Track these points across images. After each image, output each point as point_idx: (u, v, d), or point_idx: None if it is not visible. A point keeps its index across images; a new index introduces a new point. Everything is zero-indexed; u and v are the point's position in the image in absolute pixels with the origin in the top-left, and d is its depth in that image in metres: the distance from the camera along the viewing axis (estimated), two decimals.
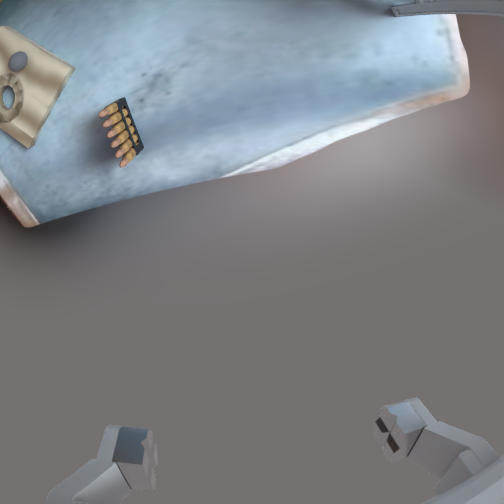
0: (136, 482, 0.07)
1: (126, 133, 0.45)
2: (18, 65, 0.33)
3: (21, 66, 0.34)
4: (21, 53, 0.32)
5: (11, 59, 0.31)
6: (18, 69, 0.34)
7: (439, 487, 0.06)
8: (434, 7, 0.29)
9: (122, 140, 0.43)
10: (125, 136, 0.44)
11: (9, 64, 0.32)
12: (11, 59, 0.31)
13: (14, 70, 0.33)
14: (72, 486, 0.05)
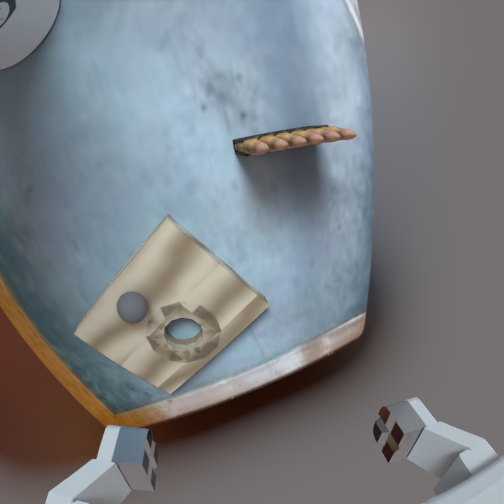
0: (136, 482, 0.07)
1: (295, 131, 0.31)
2: (138, 305, 0.34)
3: (141, 301, 0.35)
4: (120, 300, 0.34)
5: (125, 317, 0.34)
6: (144, 306, 0.35)
7: (439, 487, 0.06)
8: None
9: None
10: (301, 130, 0.30)
11: (132, 321, 0.34)
12: (124, 317, 0.34)
13: (144, 313, 0.35)
14: (72, 486, 0.05)
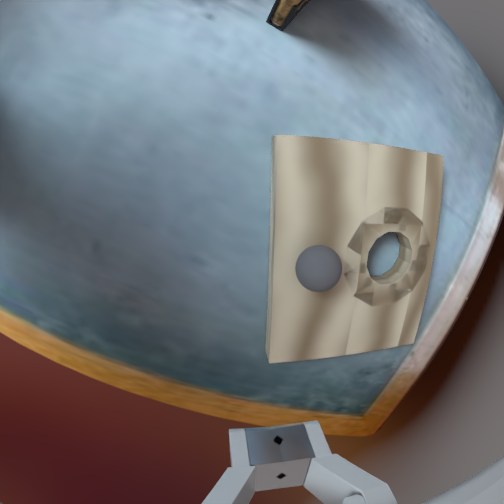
0: (264, 482, 0.07)
1: None
2: (326, 257, 0.24)
3: (325, 249, 0.25)
4: (300, 269, 0.25)
5: (321, 283, 0.24)
6: (333, 253, 0.25)
7: None
8: None
9: None
10: None
11: (332, 282, 0.24)
12: (321, 285, 0.24)
13: (339, 261, 0.25)
14: (219, 501, 0.06)
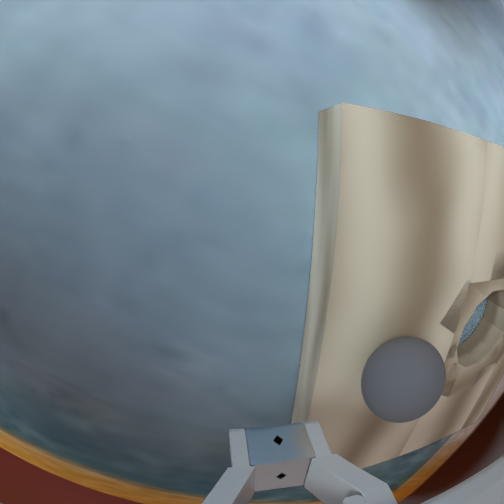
0: (264, 482, 0.07)
1: None
2: (430, 370, 0.10)
3: (427, 351, 0.10)
4: (376, 393, 0.11)
5: (413, 417, 0.10)
6: (438, 356, 0.11)
7: None
8: None
9: None
10: None
11: (430, 408, 0.10)
12: (411, 419, 0.10)
13: (444, 370, 0.10)
14: (219, 501, 0.06)
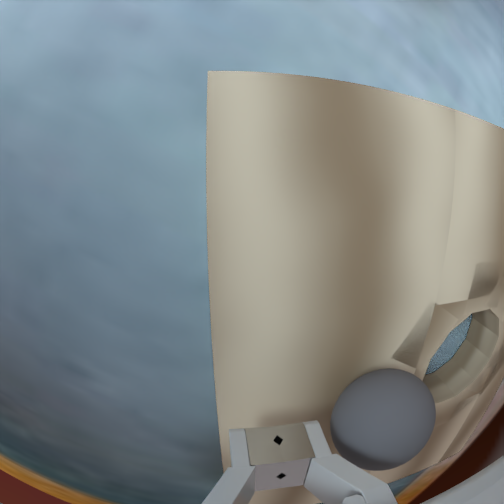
0: (265, 482, 0.07)
1: None
2: (428, 392, 0.08)
3: (413, 379, 0.09)
4: (403, 455, 0.07)
5: None
6: (412, 374, 0.09)
7: None
8: None
9: None
10: None
11: None
12: None
13: None
14: (219, 501, 0.06)
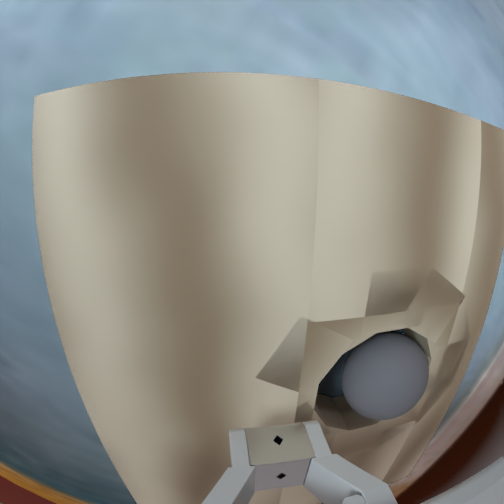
0: (264, 482, 0.07)
1: None
2: (372, 361, 0.11)
3: (390, 348, 0.11)
4: None
5: (347, 398, 0.11)
6: (398, 363, 0.10)
7: None
8: None
9: None
10: None
11: (365, 409, 0.11)
12: (347, 400, 0.11)
13: (397, 385, 0.10)
14: (219, 501, 0.06)
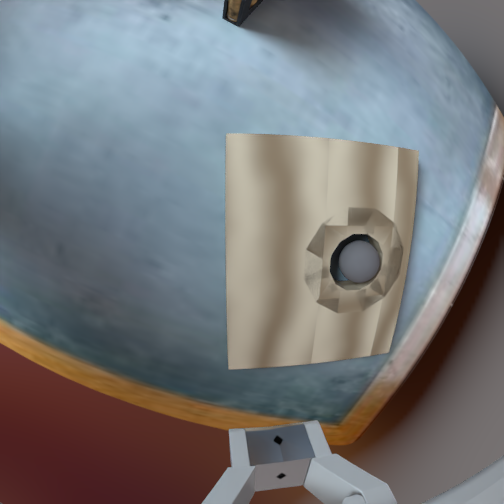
0: (264, 482, 0.07)
1: None
2: (350, 248, 0.27)
3: (358, 243, 0.27)
4: None
5: (341, 268, 0.28)
6: (360, 248, 0.27)
7: None
8: None
9: None
10: None
11: (348, 271, 0.27)
12: (341, 270, 0.28)
13: (360, 257, 0.26)
14: (219, 501, 0.06)
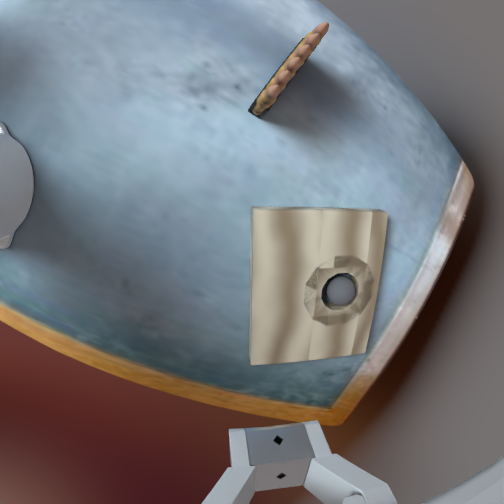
0: (264, 482, 0.07)
1: (285, 62, 0.28)
2: (334, 282, 0.40)
3: (339, 279, 0.40)
4: None
5: (327, 295, 0.41)
6: (341, 283, 0.39)
7: None
8: None
9: None
10: (288, 57, 0.27)
11: (332, 298, 0.40)
12: (328, 296, 0.41)
13: (340, 289, 0.39)
14: (219, 501, 0.06)
